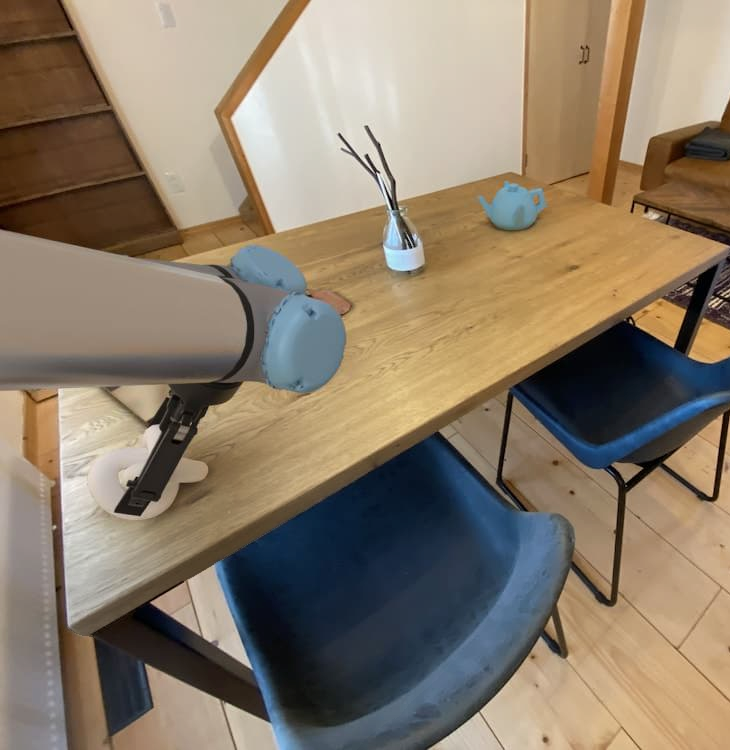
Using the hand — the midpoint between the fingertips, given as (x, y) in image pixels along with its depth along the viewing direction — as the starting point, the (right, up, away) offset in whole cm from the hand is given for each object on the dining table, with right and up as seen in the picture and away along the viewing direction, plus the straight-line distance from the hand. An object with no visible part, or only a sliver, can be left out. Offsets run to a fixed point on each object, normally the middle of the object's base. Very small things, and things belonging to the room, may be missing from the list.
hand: (144, 468), depth 59 cm
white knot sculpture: (+1, -4, +4) cm, 6 cm away
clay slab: (+6, +28, +39) cm, 48 cm away
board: (-11, +14, +24) cm, 30 cm away
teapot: (+52, +58, +70) cm, 104 cm away
